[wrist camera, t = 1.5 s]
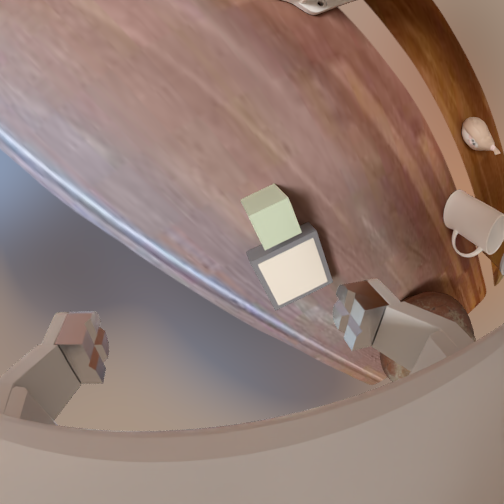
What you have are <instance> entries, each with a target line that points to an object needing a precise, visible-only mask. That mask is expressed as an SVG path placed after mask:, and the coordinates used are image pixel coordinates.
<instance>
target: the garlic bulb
mask: <svg viewBox="0 0 504 504" xmlns="http://www.w3.org/2000/svg"><path fill="white" fill-rule="evenodd" d="M462 137H463V139H464V141H465V142H466V143H467V144H468V146H469V147H470V148H472V149H474V150H479V151H482V150H487V151H488V150H492V151H494V153H495V155H497V154H500V153H501V152H500V151H499V150H498V149H497V148H496V147H495V143H494V141H493V139H492V136H491V134H490V132H489V130H488V128H487V125H486V124H485V122H484V121H482V120H481V119H480V118H477V117H470V118H467V119H466V120H465V121H464V122H463V125H462Z"/></svg>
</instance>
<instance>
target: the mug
mask: <svg viewBox="0 0 504 504" xmlns="http://www.w3.org/2000/svg"><path fill="white" fill-rule="evenodd" d="M443 219H444V223H445V225H446V226H447V227H448V228H450V229H453V230H454V231H453V234H452V245H453V248H454V250H455V251H456V252H457V253H458V254H459V255H461V256H463V257H473V256H476V255H478V254H479V253H480V252H482V251H484V252H486V253H487V254H488V255H491V254H493V253H495V252H496V251H497V250H498V248H499V247H500V246H501V244H502V242H503V240H504V214H503V213H501V212H499V211H498V210H496V209H494V208H493V207H491V206H489V205H487V204H485V203H484V202H482V201H480V200H478V199H476V198H474V197H473V196H470V195H469V194H467V193H466V192H465V191H463V190H456V191H455V192H453V193H452V194H451V196H450V197H449V198H448V200H447V202H446V205H445V208H444V213H443ZM458 233H459V234H460V235H462V236H463V237H465V238H466V239H468V240H469V241H470V242H472V243H473V244H475V245H476V246H477V247H478V248H477V249H476V250H475V251H474V252H472V253H469V254H463V253H461V252H459V251H458V250H457V248H456V246H455V239H456V236H457V234H458Z"/></svg>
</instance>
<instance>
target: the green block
mask: <svg viewBox="0 0 504 504" xmlns="http://www.w3.org/2000/svg"><path fill="white" fill-rule="evenodd" d="M240 201H241V203H242V205H243V207H244V209H245V211H246V213H247V215H248V217H249V219H250V221H251V223H252V225H253V227H254V229H255V231H256V233H257V235H258V237H259V239H260V241H261V244H262V246H263V248H264V250H267V249H269V248H271V247H273V246H275V245H277V244H279V243H281V242H284V241H286V240H288V239H290V238H292V237H294V236H296V235H298V234H300V233H302V232H301V229H300V226H299V224H298V221H297V218H296V216H295V213H294V211H293V208H292V206H291V203H290V200H289V198H288V197H287V196H286V195H285V194H284V193H283V192H282V191H281V190H280V189H279V188H278V187H277V186H276V185H275V184H272V185H270V186H268V187H266V188H264V189H262V190H260V191H258V192H255V193H253V194H251V195H249V196H247V197H245V198H243V199H241V200H240Z"/></svg>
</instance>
